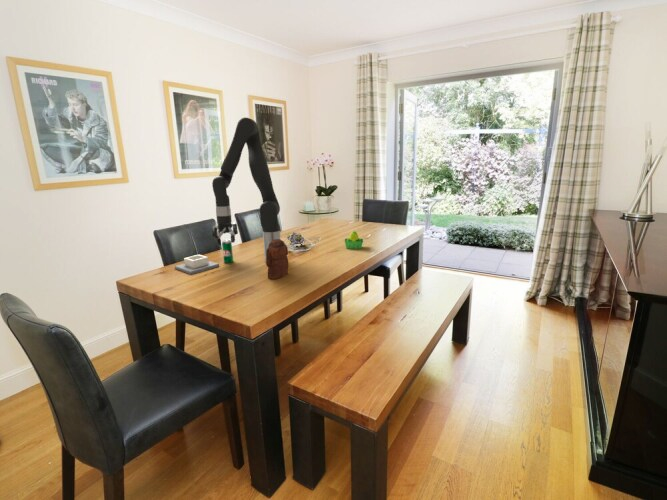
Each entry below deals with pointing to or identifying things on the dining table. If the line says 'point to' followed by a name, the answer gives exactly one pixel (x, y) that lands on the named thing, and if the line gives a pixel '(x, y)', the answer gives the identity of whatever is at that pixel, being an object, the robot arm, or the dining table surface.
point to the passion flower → (296, 238)
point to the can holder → (196, 264)
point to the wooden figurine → (277, 259)
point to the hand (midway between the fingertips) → (226, 243)
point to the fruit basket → (353, 241)
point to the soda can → (227, 251)
